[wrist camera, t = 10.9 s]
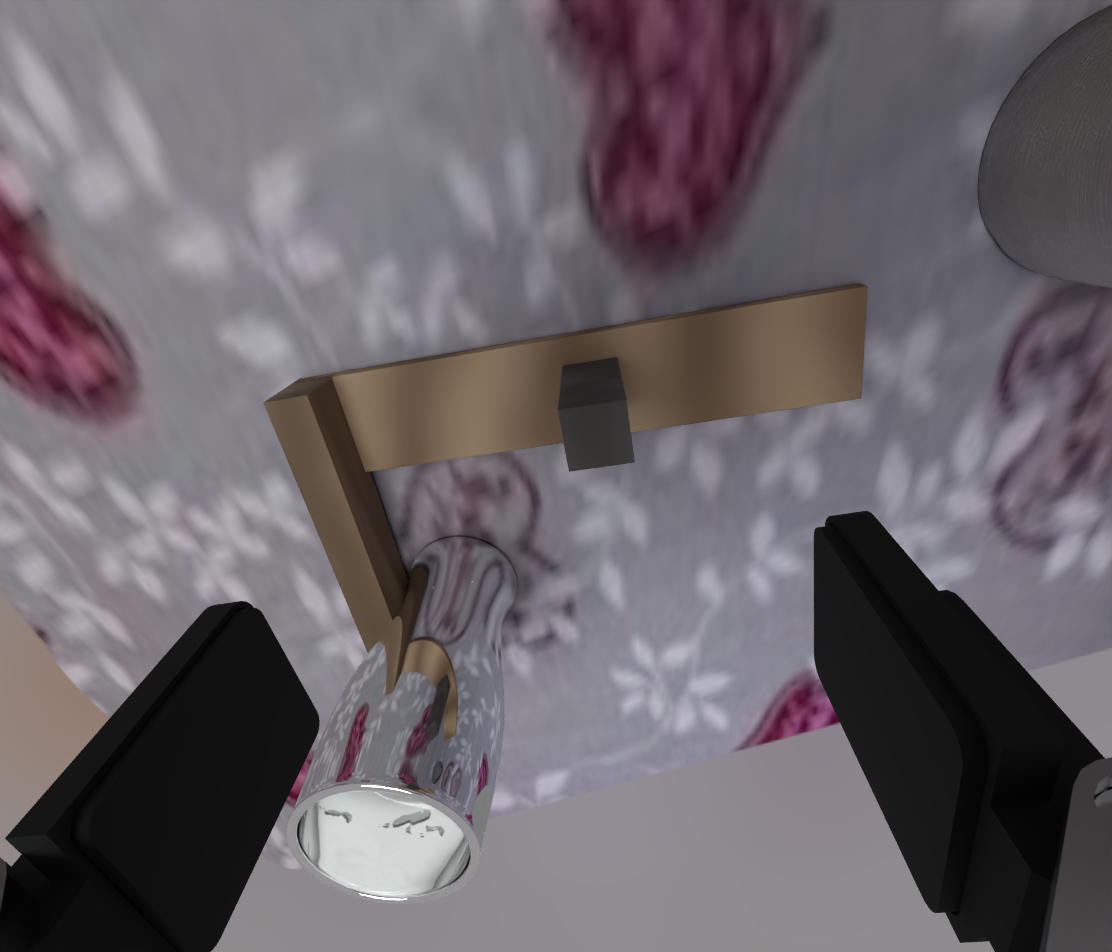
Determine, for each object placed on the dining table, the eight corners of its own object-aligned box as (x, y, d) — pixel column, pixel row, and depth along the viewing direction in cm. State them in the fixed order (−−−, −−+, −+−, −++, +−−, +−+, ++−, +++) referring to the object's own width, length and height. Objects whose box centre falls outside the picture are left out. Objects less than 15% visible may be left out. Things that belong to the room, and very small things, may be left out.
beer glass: (542, 612, 34) (516, 892, 20) (434, 639, 35) (341, 920, 21) (498, 513, 31) (433, 762, 17) (382, 547, 32) (238, 803, 19)
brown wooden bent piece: (858, 283, 25) (948, 312, 19) (843, 603, 32) (904, 698, 26) (299, 379, 28) (220, 431, 22) (403, 652, 35) (366, 748, 29)
